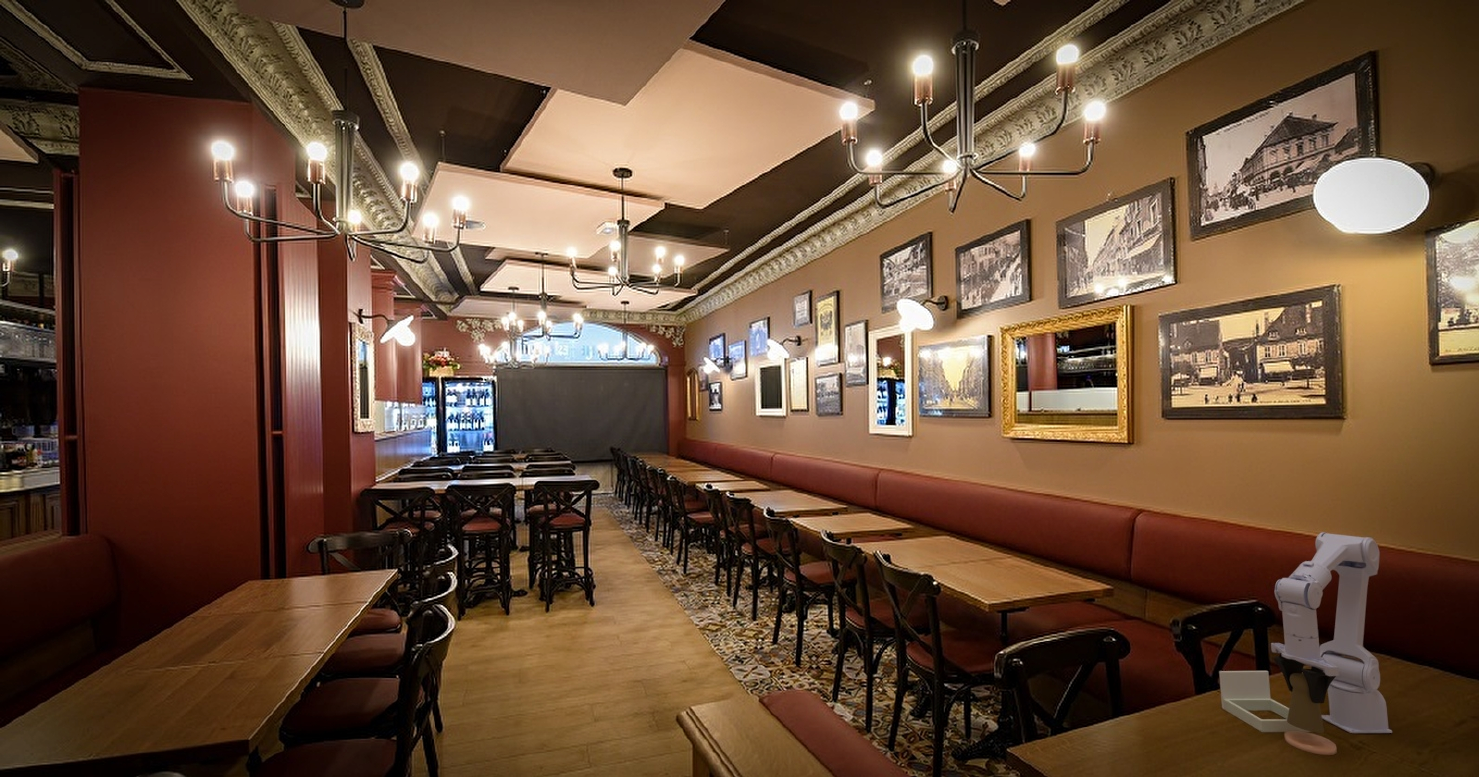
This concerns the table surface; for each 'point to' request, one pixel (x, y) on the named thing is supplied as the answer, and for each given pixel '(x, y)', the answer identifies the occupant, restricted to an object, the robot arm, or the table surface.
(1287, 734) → the peach flat disc
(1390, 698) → the table surface
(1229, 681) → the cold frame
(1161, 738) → the table surface
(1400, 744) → the table surface
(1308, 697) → the brown tapered cylinder
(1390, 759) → the table surface
